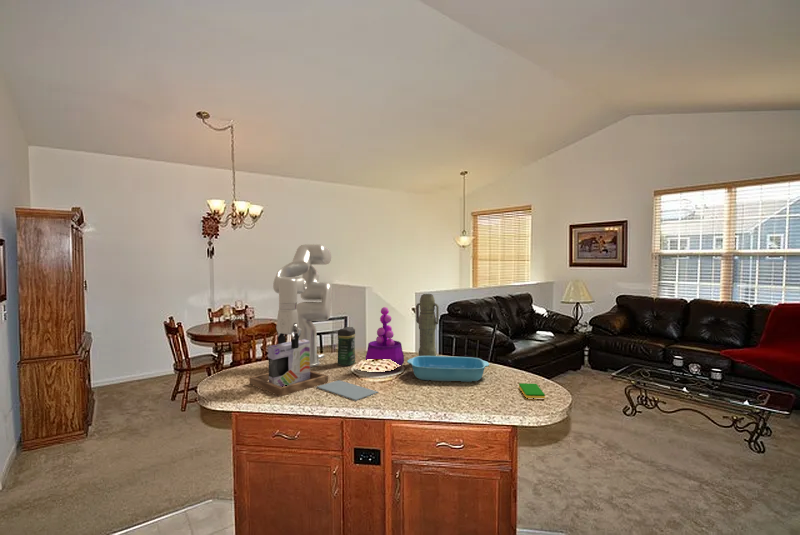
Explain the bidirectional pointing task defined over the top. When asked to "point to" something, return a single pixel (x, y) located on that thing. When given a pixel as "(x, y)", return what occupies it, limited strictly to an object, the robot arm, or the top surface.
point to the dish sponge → (531, 390)
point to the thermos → (427, 324)
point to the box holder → (281, 391)
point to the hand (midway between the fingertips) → (288, 346)
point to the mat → (347, 390)
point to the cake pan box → (289, 363)
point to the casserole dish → (448, 368)
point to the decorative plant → (385, 342)
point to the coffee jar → (346, 346)
